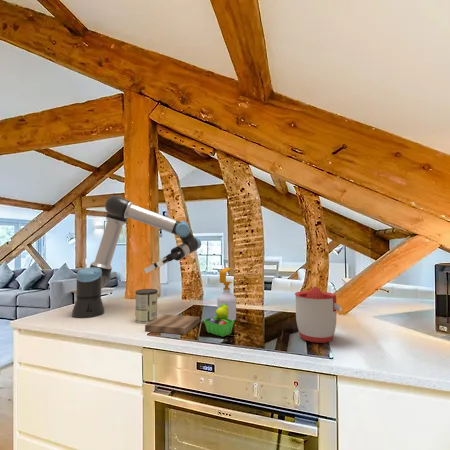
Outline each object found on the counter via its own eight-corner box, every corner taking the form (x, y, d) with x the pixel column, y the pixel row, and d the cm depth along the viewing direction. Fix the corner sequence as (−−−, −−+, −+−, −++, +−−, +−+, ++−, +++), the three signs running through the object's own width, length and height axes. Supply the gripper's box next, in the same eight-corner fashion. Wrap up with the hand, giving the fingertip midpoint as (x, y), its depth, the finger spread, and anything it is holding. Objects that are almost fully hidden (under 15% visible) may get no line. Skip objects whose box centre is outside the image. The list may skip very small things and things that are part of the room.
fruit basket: (202, 332, 117) (202, 304, 118) (217, 327, 124) (217, 301, 124) (222, 338, 110) (222, 309, 110) (237, 333, 116) (237, 305, 117)
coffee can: (140, 317, 141) (140, 288, 141) (160, 317, 140) (160, 288, 140) (131, 323, 130) (131, 292, 131) (152, 323, 129) (153, 292, 130)
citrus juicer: (339, 349, 98) (338, 291, 99) (290, 341, 107) (289, 287, 108) (345, 336, 112) (343, 285, 113) (301, 329, 120) (300, 282, 121)
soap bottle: (239, 319, 136) (239, 268, 138) (226, 323, 130) (226, 269, 132) (227, 315, 143) (227, 266, 144) (213, 319, 137) (213, 268, 138)
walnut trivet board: (144, 331, 118) (145, 325, 119) (164, 319, 136) (164, 314, 136) (185, 334, 114) (185, 328, 114) (199, 322, 132) (199, 316, 132)
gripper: (195, 251, 153) (166, 269, 137) (171, 263, 170) (143, 279, 154) (189, 239, 153) (159, 255, 137) (165, 252, 170) (136, 267, 154)
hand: (150, 268), depth 146 cm, fingers open, 13 cm apart
